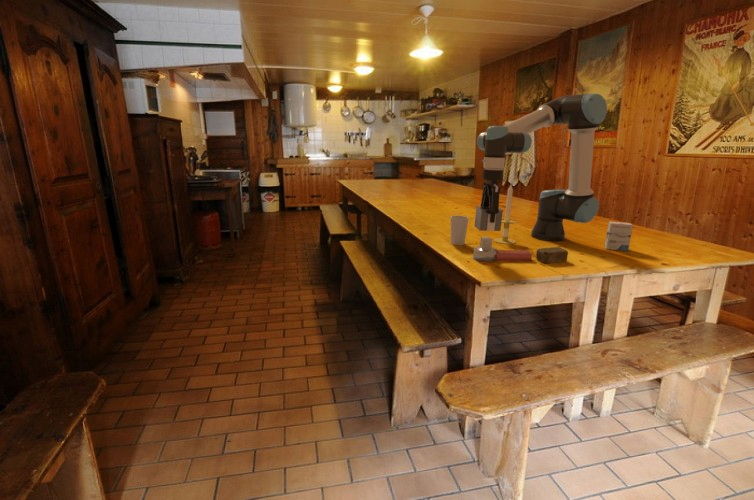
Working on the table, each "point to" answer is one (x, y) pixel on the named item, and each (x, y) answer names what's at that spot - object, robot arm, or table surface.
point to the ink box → (618, 236)
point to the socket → (486, 218)
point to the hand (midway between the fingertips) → (487, 227)
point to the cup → (458, 229)
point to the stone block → (551, 255)
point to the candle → (507, 221)
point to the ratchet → (498, 253)
